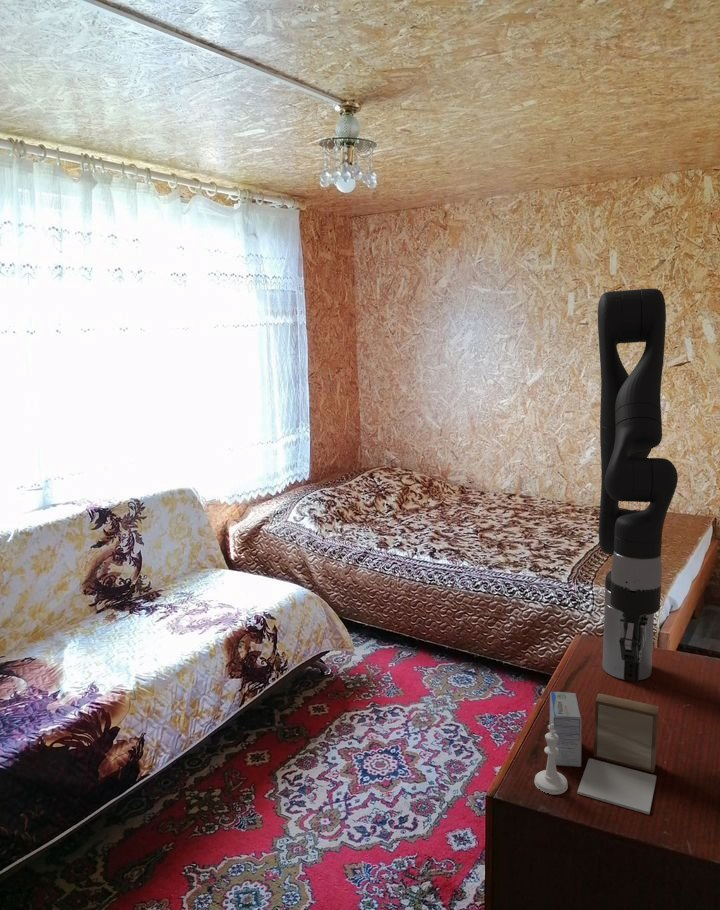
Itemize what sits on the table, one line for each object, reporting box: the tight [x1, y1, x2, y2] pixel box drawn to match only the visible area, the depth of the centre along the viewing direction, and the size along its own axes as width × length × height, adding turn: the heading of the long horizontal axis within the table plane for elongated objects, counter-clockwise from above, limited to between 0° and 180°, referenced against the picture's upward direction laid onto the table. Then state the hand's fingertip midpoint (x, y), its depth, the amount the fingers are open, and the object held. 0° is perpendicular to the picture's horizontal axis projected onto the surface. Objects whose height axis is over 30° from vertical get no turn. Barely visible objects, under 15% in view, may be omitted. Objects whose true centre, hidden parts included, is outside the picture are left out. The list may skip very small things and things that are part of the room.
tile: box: [593, 693, 659, 773], centre depth 108 cm, size 3×9×10 cm, turn 61°
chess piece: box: [534, 723, 569, 796], centre depth 103 cm, size 5×5×10 cm
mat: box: [576, 757, 657, 815], centre depth 103 cm, size 9×10×1 cm
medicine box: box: [548, 691, 583, 768], centre depth 111 cm, size 8×4×9 cm, turn 168°
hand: (631, 679), depth 112 cm, fingers closed
